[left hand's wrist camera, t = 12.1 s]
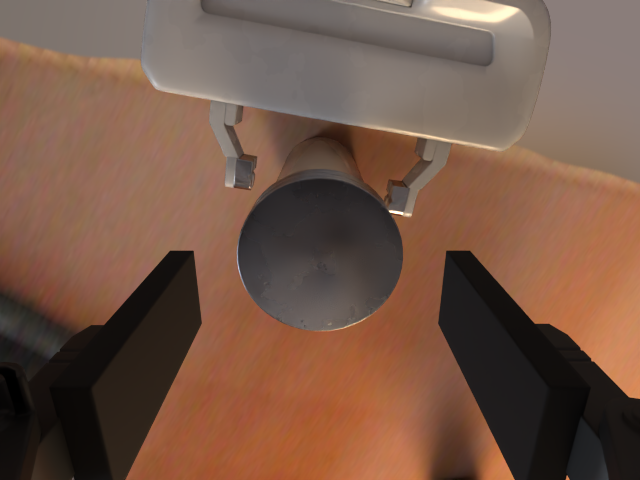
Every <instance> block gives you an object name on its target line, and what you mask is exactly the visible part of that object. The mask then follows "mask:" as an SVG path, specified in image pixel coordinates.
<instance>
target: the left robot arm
mask: <svg viewBox="0 0 640 480" xmlns="http://www.w3.org/2000/svg"><path fill="white" fill-rule="evenodd" d="M201 324H202V321H201V312H200V304H199V295H198V286H197V277H196V268H195V259H194V251H170V252H169V253H168V254H167V255H166V256H165V257H164V258H163V259H162V261H161V262H160V263H159V264H158V265H157V266H156V267H155V268H154V270H153V271H152V272H151V273H150V274H149V275H148V276H147V277H146V279H145V280H144V281H143V282H142V283H141V284H140V285H139V287H138V288H137V289H136V290H135V291H134V292H133V293H132V294H131V296H130V297H129V298H128V299H127V300H126V301H125V302H124V303H123V305H122V306H121V307H120V308H119V309H118V310H117V311H116V312H115V314H114V315H113V316H112V317H111V318H110V319H109V320H108V321H107V323H106V324H105V325H91V326H89V327H88V328H86V329H84V330H83V331H81V332H79V333H77V334H76V335H74V336H73V337H72V338H71V339H70V340H69V341H68V342H67V343H66V344H65V345H64V346H63V347H62V348H61V349H60V352H57V353H56V354H55V355H54V356H53V357H52V358H51V359H50V360H49V363H46V364H45V365H44V366H43V367H42V368H41V369H40V370H39V371H38V373H37V374H36V375H35V376H34V377H33V378H32V379H31V380H30V381H29V382H28V381H27V377H26V374H25V370H24V368H23V367H22V366H20V365H19V364H17V363H9V362H1V363H0V480H71V479H72V478H73V476H74V480H125V479H126V477H127V475H128V473H129V471H130V469H131V467H132V465H133V463H134V461H135V459H136V457H137V455H138V452H139V450H140V448H141V446H142V444H143V442H144V440H145V438H146V436H147V434H148V432H149V430H150V428H151V426H152V424H153V422H154V420H155V418H156V416H157V414H158V412H159V410H160V408H161V406H162V404H163V401H164V399H165V397H166V395H167V393H168V391H169V389H170V387H171V385H172V383H173V381H174V379H175V377H176V375H177V373H178V371H179V369H180V367H181V365H182V363H183V361H184V359H185V357H186V355H187V353H188V350H189V348H190V346H191V344H192V342H193V340H194V338H195V336H196V334H197V332H198V330H199V328H200V326H201ZM438 324H439V326H440V328H441V330H442V332H443V334H444V336H445V338H446V340H447V342H448V344H449V346H450V348H451V350H452V353H453V355H454V357H455V359H456V361H457V363H458V365H459V367H460V369H461V371H462V373H463V375H464V377H465V379H466V381H467V383H468V385H469V387H470V389H471V391H472V393H473V395H474V397H475V399H476V401H477V404H478V406H479V408H480V410H481V412H482V414H483V416H484V418H485V420H486V422H487V424H488V426H489V428H490V430H491V432H492V434H493V436H494V438H495V440H496V442H497V444H498V446H499V448H500V450H501V453H502V455H503V457H504V459H505V461H506V463H507V465H508V467H509V469H510V471H511V473H512V475H513V477H514V479H515V480H566V476H568V477H569V479H570V480H640V399H636V398H629V397H628V396H627V395H626V394H625V393H624V392H623V391H622V390H621V389H620V388H619V387H618V386H617V385H616V384H615V383H614V382H613V381H612V380H611V379H610V378H609V377H608V376H607V375H606V374H605V373H604V372H603V370H602V369H601V368H600V367H599V366H598V365H597V364H596V363H595V362H592V361H591V358H590V357H589V356H588V355H587V354H586V353H585V352H584V351H581V350H580V347H579V346H578V345H577V344H576V343H575V342H574V341H573V340H572V339H571V338H570V337H569V336H568V335H567V334H565V333H564V332H562V331H560V330H558V329H557V328H555V327H553V326H552V325H550V324H534V323H533V321H532V320H531V319H530V318H529V317H528V316H527V315H526V314H525V312H524V311H523V310H522V309H521V308H520V307H519V306H518V305H517V303H516V302H515V301H514V300H513V299H512V298H511V297H510V296H509V294H508V293H507V292H506V291H505V290H504V289H503V288H502V287H501V285H500V284H499V283H498V282H497V281H496V280H495V279H494V277H493V276H492V275H491V274H490V273H489V272H488V271H487V270H486V268H485V267H484V266H483V265H482V264H481V263H480V262H479V261H478V259H477V258H476V257H475V256H474V255H473V254H472V253H471V252H470V251H446V259H445V268H444V277H443V286H442V295H441V304H440V312H439V321H438Z"/></svg>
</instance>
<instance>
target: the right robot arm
mask: <svg viewBox="0 0 640 480" xmlns="http://www.w3.org/2000/svg"><path fill="white" fill-rule="evenodd" d="M550 36H551V22H550V16H549V12H548V9H547V7H546V5H545V3H544V2H543V0H147V6H146V12H145V19H144V28H143V37H142V49H141V66H142V69H143V71H144V73H145V74H146V76H147V77H148V79H149V81H150V82H151V84H152V85H153V86H154V88H155V89H157V90H159V91H164V92H170V93H175V94H181V95H186V96H192V97H197V98H203V99H209V100H211V105H210V118H209V123H210V125H211V127H212V129H213V132H214V134H215V136H216V138H217V140H218V142H219V145H220V147H221V149H222V151H223V153H224V155H225V156H226V157H227V163H226V174H225V186H227V187H231V188H239V189H245V190H251V188H252V187H253V185H254V180H255V173H254V169H255V168H256V164H257V156H252V155H247V154H244V152H243V149H242V147H241V145H240V142H239V140H238V137H237V135H236V132H235V130H234V127H233V126H234V125H236V124H237V123H239V122H241V121H242V114H243V106H247V107H253V108H259V109H264V110H270V111H275V112H281V113H286V114H292V115H297V116H303V117H308V118H314V119H320V120H325V121H331V122H336V123H342V124H347V125H353V126H358V127H364V128H370V129H375V130H381V131H386V132H392V133H397V134H403V135H408V136H414V137H418V139H417V143H416V148H415V153H416V154H417V155H418V156H420V157H421V159H420V160H419V161H418V163H417V164H416V165H415V166H414V167H413V168H412V169H411V171H410V172H409V173H408V174H407V175H406V176H405V177H404V179H403V180H402V181H397V180H391V179H389V181H388V185H387V189H386V190H387V192H388V194H387V195H386V196H385V198H384V203H385V204H386V206H387V207H388V209H389V211H390V213H391V214H393V215H399V216H405V217H410V216H411V215H412V213H413V209H414V205H415V201H416V197H417V194H418V190H421V189H422V188H423V187H424V186H425V185H426V184H427V183H428V182H429V181H430V180H431V179H432V178H433V177H434V176H435V175H436V174H437V173H438V172H439V171H440V170H441V169H442V168H443V167H444V166H445V165H446V162H447V158H448V155H449V151H450V148H451V144H452V143H453V144H458V145H464V146H470V147H475V148H481V149H486V150H492V151H498V152H503V151H506V150H507V149H508V148H510V147H511V146H512V145H513V144H515V143H516V142H517V141H518V140H519V139H521V138H522V136H523V135H524V134H525V132H526V130H527V127H528V125H529V122H530V119H531V116H532V113H533V110H534V106H535V103H536V100H537V96H538V93H539V89H540V85H541V81H542V77H543V73H544V69H545V64H546V59H547V54H548V49H549V44H550Z"/></svg>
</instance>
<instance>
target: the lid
mask: <svg viewBox="0 0 640 480" xmlns="http://www.w3.org/2000/svg"><path fill="white" fill-rule="evenodd" d="M402 262H403V246H402V239H401V236H400V232H399V229H398V227H397V225H396V223H395V220H394V218H393V217H392V215H391V213H390V211H389V209H388V207H387V206H386V204H385V203H384V201H383V200H382V198H381V197H380V196H379V195H378V194H377V192H376V191H375V190H373V189H372V188H371V187H370V186H369V185H368V184H366V183H365V182H363V181H362V180H360V179H358V178H356V177H354V176H352V175H350V174H347V173H344V172H341V171H336V170H331V169H309V170H304V171H299V172H296V173H293V174H290V175H288V176H286V177H284V178H282V179H280V180H278V181H277V182H275V183H274V184H272V185H271V186H270V187H269V188H268V189H267V190H265V191H264V192H263V193H262V195H261V196H260V197H259V198H258V199H257V201H256V203H255V204H254V206H253V207H252V209H251V211H250V213H249V215H248V216H247V218H246V220H245V222H244V225H243V227H242V229H241V232H240V236H239V239H238V246H237V263H238V269H239V273H240V276H241V279H242V282H243V284H244V286H245V288H246V290H247V291H248V293H249V295H250V296H251V298H252V299H253V300H254V301H255V302H256V304H257V305H258V306H259V307H260V308H261V309H262V310H264V311H265V312H266V313H267V314H269V315H270V316H271V317H273V318H275V319H276V320H278V321H280V322H282V323H284V324H287V325H289V326H292V327H296V328H299V329H304V330H310V331H329V330H336V329H341V328H345V327H348V326H351V325H353V324H356V323H358V322H360V321H362V320H364V319H365V318H367V317H369V316H370V315H371V314H373V313H374V312H375V311H377V310H378V309H379V308H380V307H381V306H382V305H383V304H384V303H385V301H386V300H387V299H388V297H389V296H390V295H391V293H392V291H393V290H394V288H395V286H396V284H397V282H398V279H399V276H400V273H401V269H402Z"/></svg>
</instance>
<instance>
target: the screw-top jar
mask: <svg viewBox="0 0 640 480" xmlns="http://www.w3.org/2000/svg"><path fill="white" fill-rule="evenodd" d="M309 169H331V170H336V171H341V172H344V173H347V174H350V175H352V176H354V177H356V178H358V179H360V180H362V181H363V179H362V176H361V174H360V172H359V170H358V167H357V165H356V163H355V161H354V158H353V156H352V155H351V153H350V152H349V151H348V149H347V148H346V147H344V146H343V145H342V144H341V143H339V142H337V141H335V140H333V139H330V138H325V137H316V138H310V139H307V140H305V141H303V142H301V143H299V144H298V145H297V146H295V147H294V148H293V149H292V151H291V152H290V153H289V155H288V156H287V158H286V161H285V163H284V165H283V167H282V170H281V172H280V174H279V177H278V179H277V181H278V180H280V179H282V178H284V177H286V176H288V175H290V174H293V173H296V172H299V171H304V170H309ZM277 181H276V182H277ZM363 182H364V181H363Z"/></svg>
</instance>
